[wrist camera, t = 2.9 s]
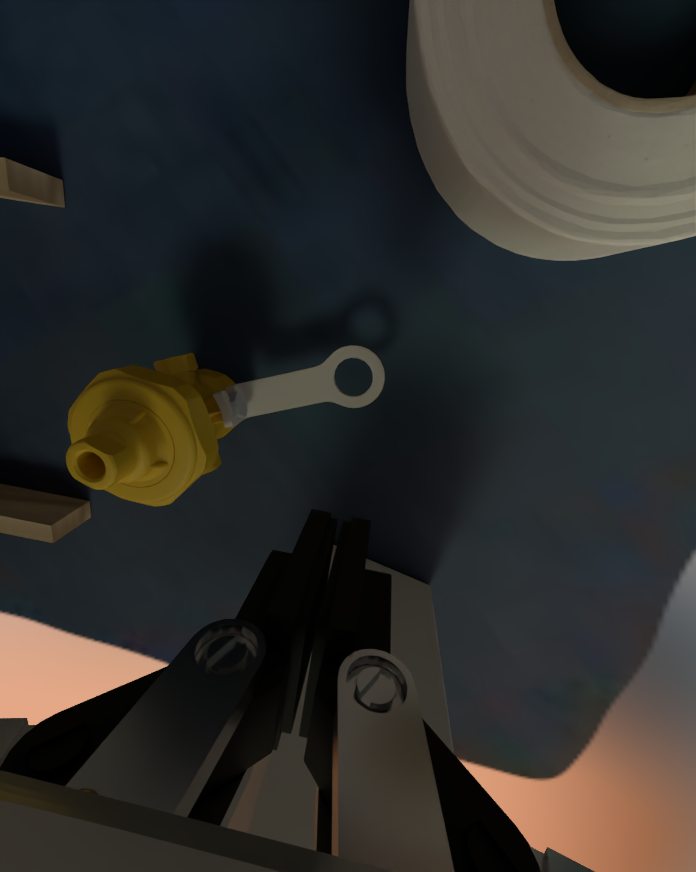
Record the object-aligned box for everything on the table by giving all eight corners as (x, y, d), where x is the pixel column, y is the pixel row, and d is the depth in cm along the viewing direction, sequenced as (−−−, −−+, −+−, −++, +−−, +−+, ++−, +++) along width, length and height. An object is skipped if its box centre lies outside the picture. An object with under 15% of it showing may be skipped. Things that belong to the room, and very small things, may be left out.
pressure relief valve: (164, 358, 21) (-18, 399, 12) (374, 308, 19) (358, 307, 10) (197, 449, 23) (60, 549, 13) (395, 411, 21) (398, 497, 11)
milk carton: (431, 582, 24) (544, 1372, 6) (384, 657, 27) (369, 1387, 9) (327, 539, 24) (138, 1224, 6) (290, 618, 26) (73, 1281, 8)
